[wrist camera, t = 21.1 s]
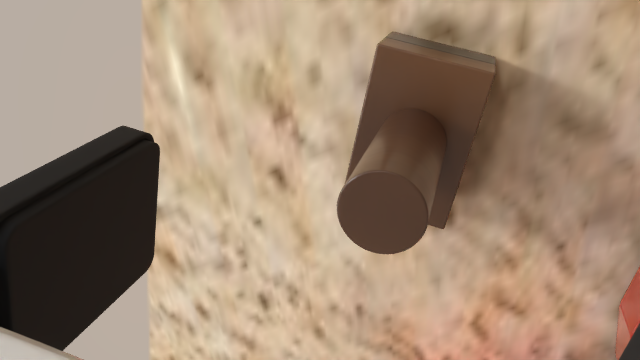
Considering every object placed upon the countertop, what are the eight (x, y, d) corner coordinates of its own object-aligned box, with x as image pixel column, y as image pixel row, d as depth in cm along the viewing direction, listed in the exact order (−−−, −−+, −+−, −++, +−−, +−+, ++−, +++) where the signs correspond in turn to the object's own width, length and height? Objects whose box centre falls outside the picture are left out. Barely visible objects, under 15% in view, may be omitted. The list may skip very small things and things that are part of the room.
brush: (391, 31, 21) (330, 82, 13) (495, 56, 21) (496, 127, 13) (358, 170, 24) (290, 283, 16) (449, 197, 23) (426, 329, 15)
